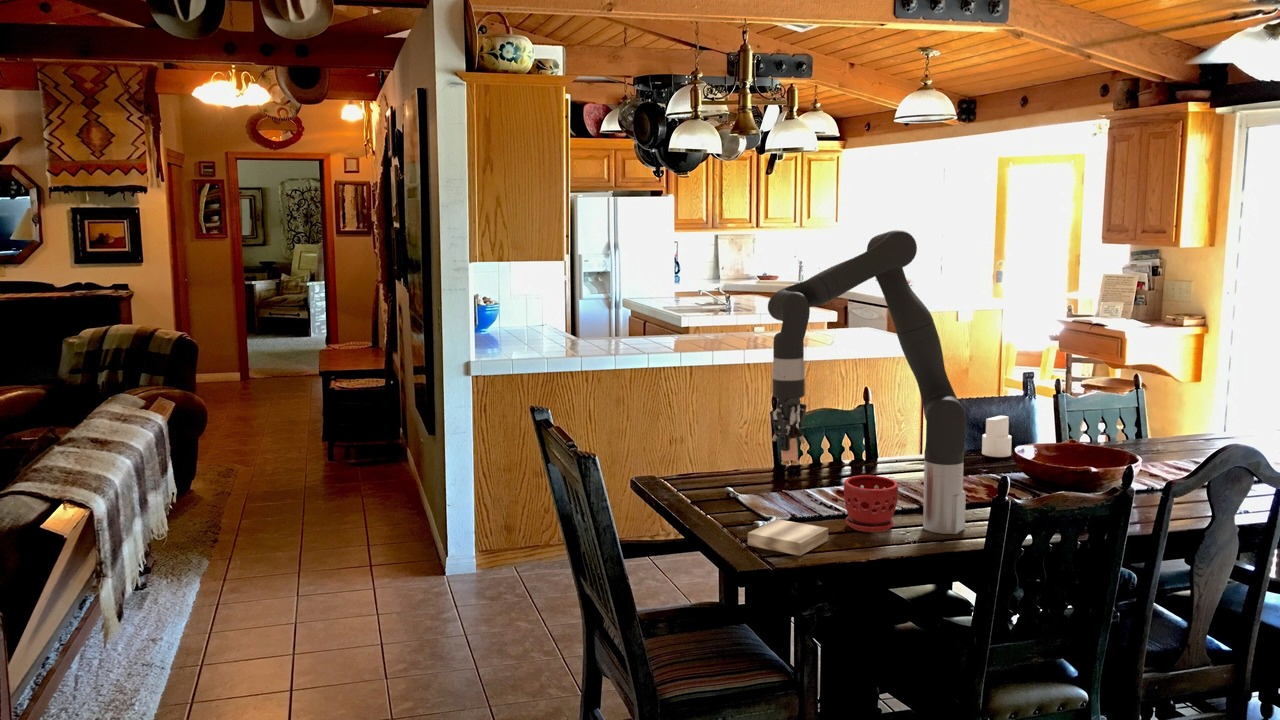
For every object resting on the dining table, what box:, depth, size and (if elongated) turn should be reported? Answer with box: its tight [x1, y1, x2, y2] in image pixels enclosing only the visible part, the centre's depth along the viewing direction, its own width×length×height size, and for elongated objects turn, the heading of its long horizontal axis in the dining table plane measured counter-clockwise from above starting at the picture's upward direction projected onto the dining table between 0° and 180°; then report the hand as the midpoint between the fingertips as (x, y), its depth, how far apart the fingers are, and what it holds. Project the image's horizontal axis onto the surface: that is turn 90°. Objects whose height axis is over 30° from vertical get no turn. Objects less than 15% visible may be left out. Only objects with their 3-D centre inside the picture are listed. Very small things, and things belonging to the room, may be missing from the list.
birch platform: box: [747, 518, 829, 557], centre depth 244 cm, size 14×14×3 cm
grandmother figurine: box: [771, 413, 806, 466], centre depth 241 cm, size 8×4×13 cm, turn 84°
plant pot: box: [843, 474, 899, 533], centre depth 254 cm, size 13×13×12 cm
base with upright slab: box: [981, 415, 1012, 458], centre depth 333 cm, size 9×9×12 cm
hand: (788, 448), depth 241 cm, fingers closed on grandmother figurine, 3 cm apart
